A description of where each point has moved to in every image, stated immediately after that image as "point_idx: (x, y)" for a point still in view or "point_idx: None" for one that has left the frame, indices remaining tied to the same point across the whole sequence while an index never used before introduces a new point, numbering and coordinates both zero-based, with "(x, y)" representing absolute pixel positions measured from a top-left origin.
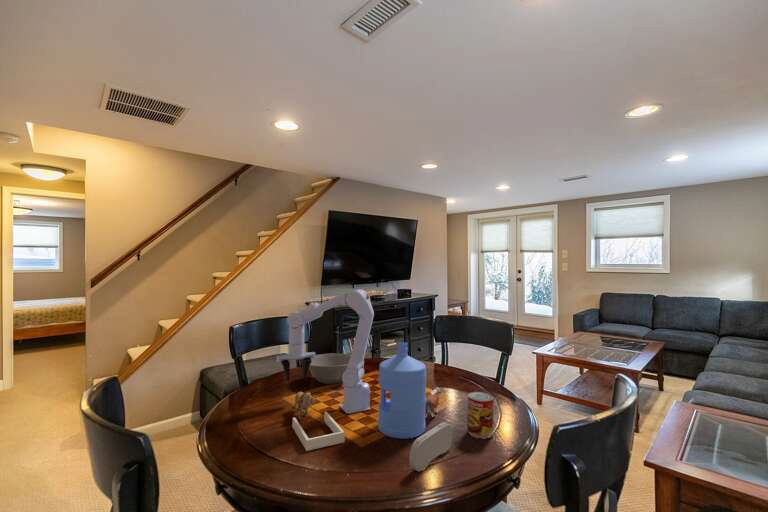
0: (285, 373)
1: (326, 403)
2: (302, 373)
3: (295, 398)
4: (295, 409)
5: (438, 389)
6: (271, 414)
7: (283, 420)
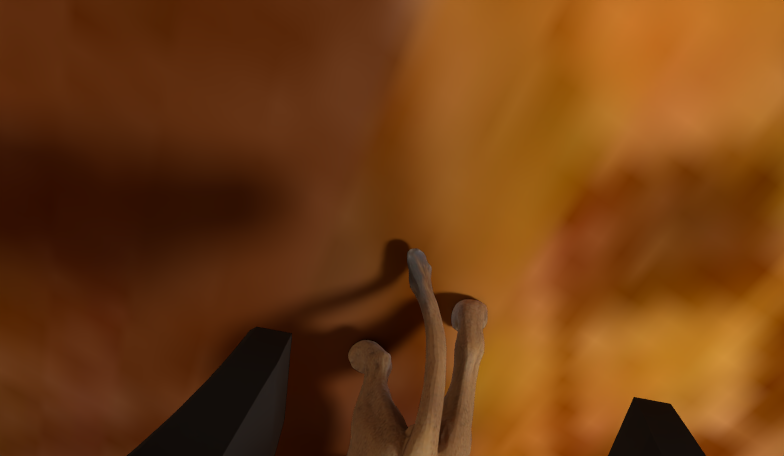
0: (191, 409)
1: (774, 366)
2: (651, 454)
3: (352, 438)
4: (364, 367)
5: None
6: (126, 279)
7: None
